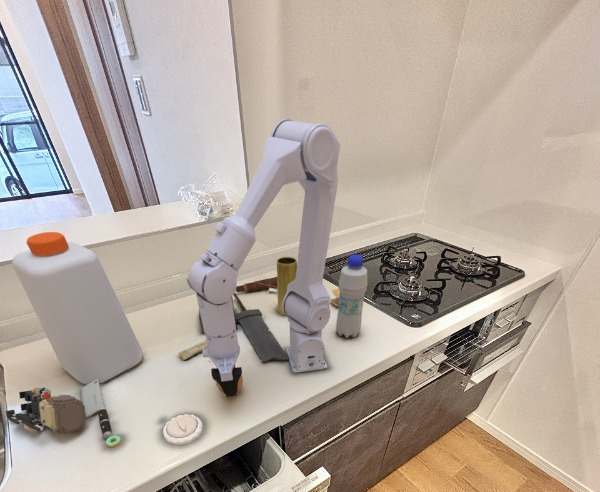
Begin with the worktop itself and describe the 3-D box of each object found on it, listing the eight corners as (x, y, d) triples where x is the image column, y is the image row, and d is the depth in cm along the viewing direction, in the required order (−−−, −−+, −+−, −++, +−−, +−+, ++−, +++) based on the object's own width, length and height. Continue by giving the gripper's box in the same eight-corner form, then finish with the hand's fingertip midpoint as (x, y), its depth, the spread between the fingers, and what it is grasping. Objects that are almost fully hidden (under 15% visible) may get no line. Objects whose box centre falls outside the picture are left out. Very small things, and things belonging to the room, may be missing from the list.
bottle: (359, 341, 88) (370, 262, 74) (333, 338, 89) (339, 260, 75) (361, 327, 92) (372, 250, 79) (336, 325, 93) (342, 248, 80)
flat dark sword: (262, 369, 80) (261, 363, 79) (223, 299, 103) (221, 293, 102) (291, 361, 82) (291, 354, 81) (246, 294, 105) (245, 288, 104)
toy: (-4, 386, 65) (37, 403, 58) (44, 380, 71) (86, 395, 64) (1, 422, 66) (41, 443, 59) (47, 413, 73) (88, 431, 66)
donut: (166, 430, 67) (166, 427, 67) (108, 449, 63) (106, 446, 62) (163, 422, 69) (162, 419, 68) (106, 440, 64) (104, 437, 64)
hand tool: (312, 278, 115) (312, 267, 113) (316, 280, 113) (316, 269, 111) (235, 293, 108) (233, 281, 106) (237, 296, 105) (235, 284, 103)
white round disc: (196, 411, 70) (194, 404, 68) (208, 435, 65) (206, 427, 64) (159, 424, 67) (156, 417, 66) (169, 450, 63) (166, 443, 61)
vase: (298, 315, 97) (298, 265, 87) (276, 315, 97) (273, 265, 87) (299, 305, 102) (298, 255, 92) (278, 305, 102) (275, 255, 92)
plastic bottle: (117, 337, 89) (67, 218, 70) (151, 359, 82) (106, 234, 63) (57, 365, 81) (-19, 239, 62) (89, 392, 74) (14, 260, 54)
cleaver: (75, 389, 73) (96, 376, 73) (81, 392, 74) (101, 379, 74) (85, 447, 63) (109, 432, 64) (91, 450, 64) (114, 435, 65)
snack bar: (183, 359, 81) (176, 351, 82) (184, 363, 82) (177, 355, 83) (218, 342, 86) (211, 334, 87) (217, 346, 87) (210, 338, 88)
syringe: (284, 295, 107) (285, 294, 108) (285, 289, 106) (286, 287, 107) (252, 289, 106) (253, 287, 108) (253, 282, 105) (254, 280, 107)
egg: (237, 403, 71) (233, 377, 67) (214, 398, 73) (207, 371, 68) (248, 387, 75) (245, 361, 70) (226, 382, 76) (221, 356, 72)
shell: (345, 317, 99) (357, 307, 100) (344, 306, 96) (357, 296, 96) (327, 302, 103) (339, 293, 104) (326, 291, 99) (338, 282, 100)
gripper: (197, 311, 68) (210, 367, 77) (197, 354, 58) (211, 412, 67) (234, 308, 69) (242, 363, 78) (240, 349, 59) (248, 407, 68)
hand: (230, 385), depth 73 cm, fingers closed on egg, 5 cm apart
